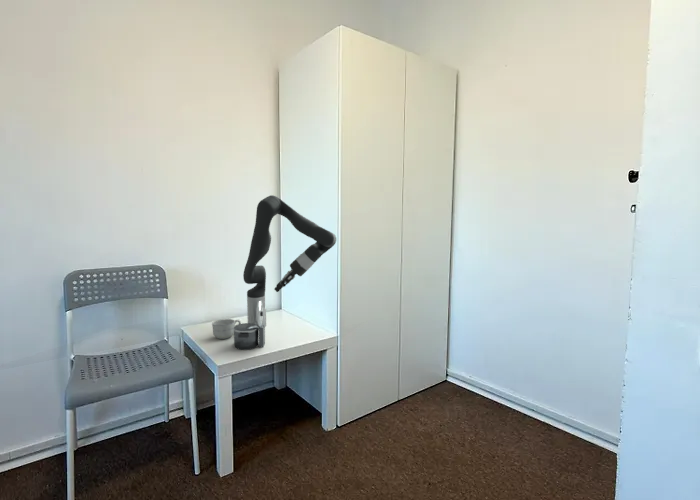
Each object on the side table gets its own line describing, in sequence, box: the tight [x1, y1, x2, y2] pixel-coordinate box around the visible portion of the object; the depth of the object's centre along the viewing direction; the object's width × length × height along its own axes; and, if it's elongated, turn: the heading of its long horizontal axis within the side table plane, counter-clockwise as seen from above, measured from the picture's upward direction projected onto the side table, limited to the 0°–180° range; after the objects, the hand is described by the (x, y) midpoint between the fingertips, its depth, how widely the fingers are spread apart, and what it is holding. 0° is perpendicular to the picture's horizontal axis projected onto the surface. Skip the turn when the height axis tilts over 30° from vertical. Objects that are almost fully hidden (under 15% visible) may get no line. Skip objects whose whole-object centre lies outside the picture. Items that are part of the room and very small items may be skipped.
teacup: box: [211, 318, 242, 340], centre depth 200 cm, size 14×11×8 cm
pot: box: [233, 322, 266, 351], centre depth 188 cm, size 14×14×9 cm
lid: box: [256, 301, 263, 327], centre depth 187 cm, size 12×12×2 cm
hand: (276, 288), depth 186 cm, fingers open, 6 cm apart
